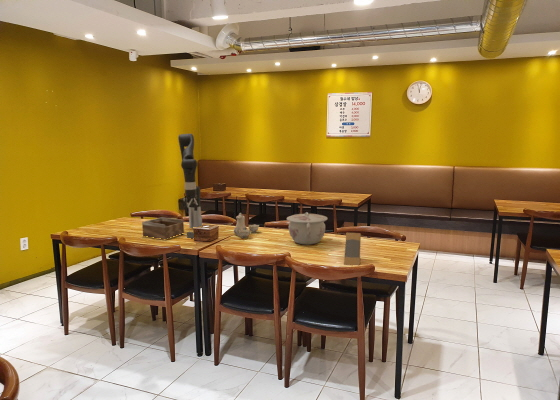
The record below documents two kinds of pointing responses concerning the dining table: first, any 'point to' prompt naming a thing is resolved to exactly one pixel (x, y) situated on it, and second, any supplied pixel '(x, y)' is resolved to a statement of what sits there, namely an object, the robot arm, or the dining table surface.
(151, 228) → the box
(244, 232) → the chinaware
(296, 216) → the chamber pot
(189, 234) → the lid
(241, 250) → the dining table surface
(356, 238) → the sandwich container
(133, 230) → the dining table surface
